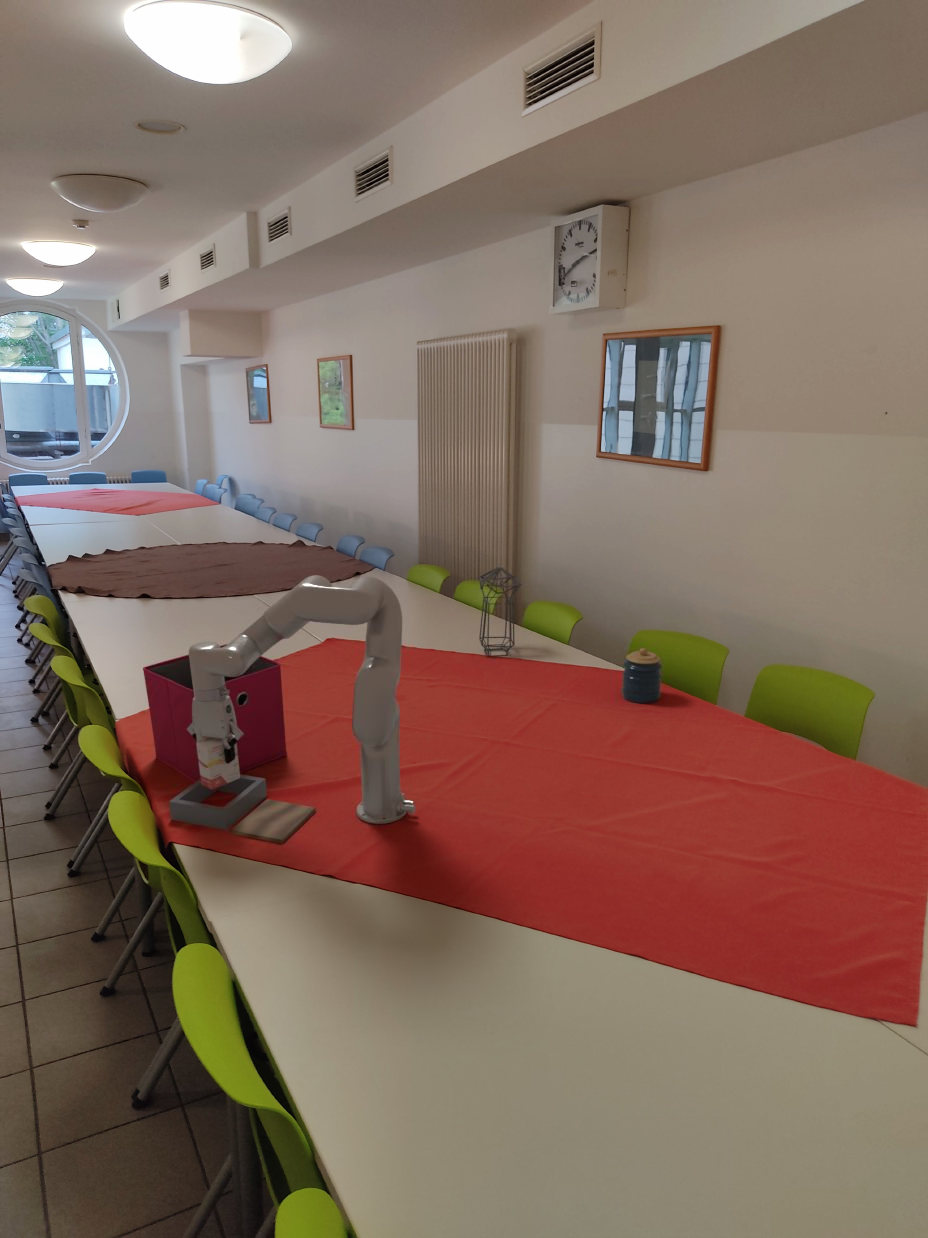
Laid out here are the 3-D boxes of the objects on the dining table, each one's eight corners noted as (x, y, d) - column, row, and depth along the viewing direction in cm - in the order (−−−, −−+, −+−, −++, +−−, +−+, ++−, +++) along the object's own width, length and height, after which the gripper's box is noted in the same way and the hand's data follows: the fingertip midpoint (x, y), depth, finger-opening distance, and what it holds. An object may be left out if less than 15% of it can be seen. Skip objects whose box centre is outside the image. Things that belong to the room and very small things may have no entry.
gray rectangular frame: (266, 796, 214) (265, 778, 213) (226, 830, 198) (224, 811, 197) (214, 787, 219) (212, 770, 218) (171, 819, 203) (169, 801, 202)
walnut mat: (315, 811, 207) (315, 807, 207) (282, 843, 192) (282, 840, 192) (267, 802, 211) (267, 799, 211) (231, 833, 197) (230, 830, 196)
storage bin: (203, 790, 218) (193, 690, 210) (151, 759, 236) (139, 665, 228) (290, 756, 237) (284, 663, 230) (235, 729, 256) (228, 642, 248)
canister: (657, 690, 287) (660, 642, 282) (662, 704, 274) (665, 654, 270) (619, 689, 288) (622, 641, 283) (623, 703, 276) (625, 653, 271)
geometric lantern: (474, 647, 334) (476, 563, 325) (512, 647, 336) (516, 563, 327) (479, 659, 319) (482, 571, 310) (519, 659, 321) (523, 571, 312)
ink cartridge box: (212, 791, 202) (205, 736, 198) (201, 785, 205) (193, 731, 201) (241, 777, 208) (235, 724, 204) (229, 772, 211) (223, 719, 207)
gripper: (249, 690, 201) (256, 757, 206) (189, 684, 206) (198, 749, 211) (231, 701, 194) (239, 770, 199) (170, 694, 199) (180, 762, 204)
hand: (218, 759), depth 205 cm, fingers closed on ink cartridge box, 6 cm apart
